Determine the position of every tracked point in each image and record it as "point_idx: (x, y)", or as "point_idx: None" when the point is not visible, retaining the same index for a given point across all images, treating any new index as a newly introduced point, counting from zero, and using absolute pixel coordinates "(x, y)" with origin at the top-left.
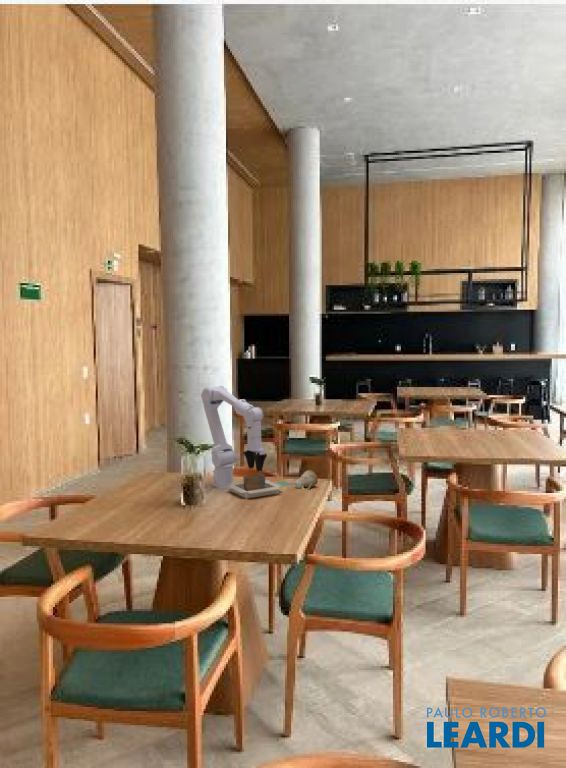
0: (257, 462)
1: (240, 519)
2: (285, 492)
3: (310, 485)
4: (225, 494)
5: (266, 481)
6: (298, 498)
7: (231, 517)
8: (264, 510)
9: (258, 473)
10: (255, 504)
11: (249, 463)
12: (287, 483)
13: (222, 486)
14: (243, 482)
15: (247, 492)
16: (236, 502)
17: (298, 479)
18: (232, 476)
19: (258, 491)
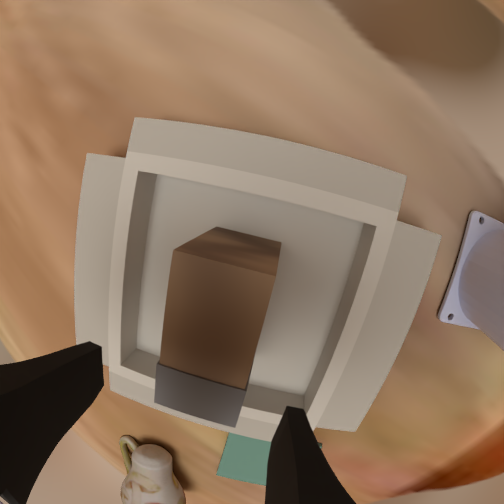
0: (5, 371)
1: (14, 28)
2: None
3: (124, 462)
4: (358, 143)
5: (265, 425)
6: (40, 334)
7: (40, 8)
8: (4, 129)
9: (235, 414)
10: (60, 142)
11: (287, 450)
12: (251, 476)
13: (482, 238)
14: (376, 329)
15: (119, 157)
16: (146, 82)
17: (147, 475)
18: (488, 329)
19: (88, 222)
